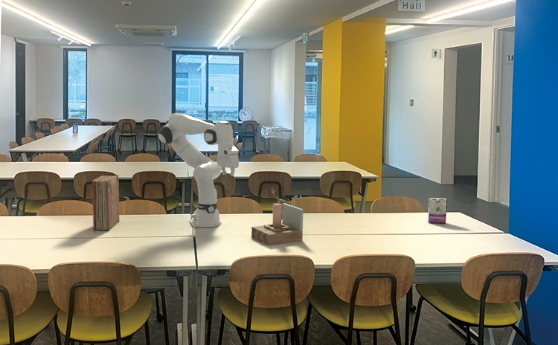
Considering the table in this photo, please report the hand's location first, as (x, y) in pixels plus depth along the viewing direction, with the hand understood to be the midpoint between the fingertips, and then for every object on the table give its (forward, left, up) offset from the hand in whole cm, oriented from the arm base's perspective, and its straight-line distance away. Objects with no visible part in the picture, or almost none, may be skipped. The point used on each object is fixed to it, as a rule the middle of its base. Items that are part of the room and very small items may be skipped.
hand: (228, 175), depth 305 cm
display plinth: (+11, +25, -37) cm, 46 cm away
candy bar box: (+23, +141, -37) cm, 148 cm away
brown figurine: (-9, +39, -37) cm, 54 cm away
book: (-60, -53, -37) cm, 88 cm away
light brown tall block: (+12, +25, -31) cm, 41 cm away
